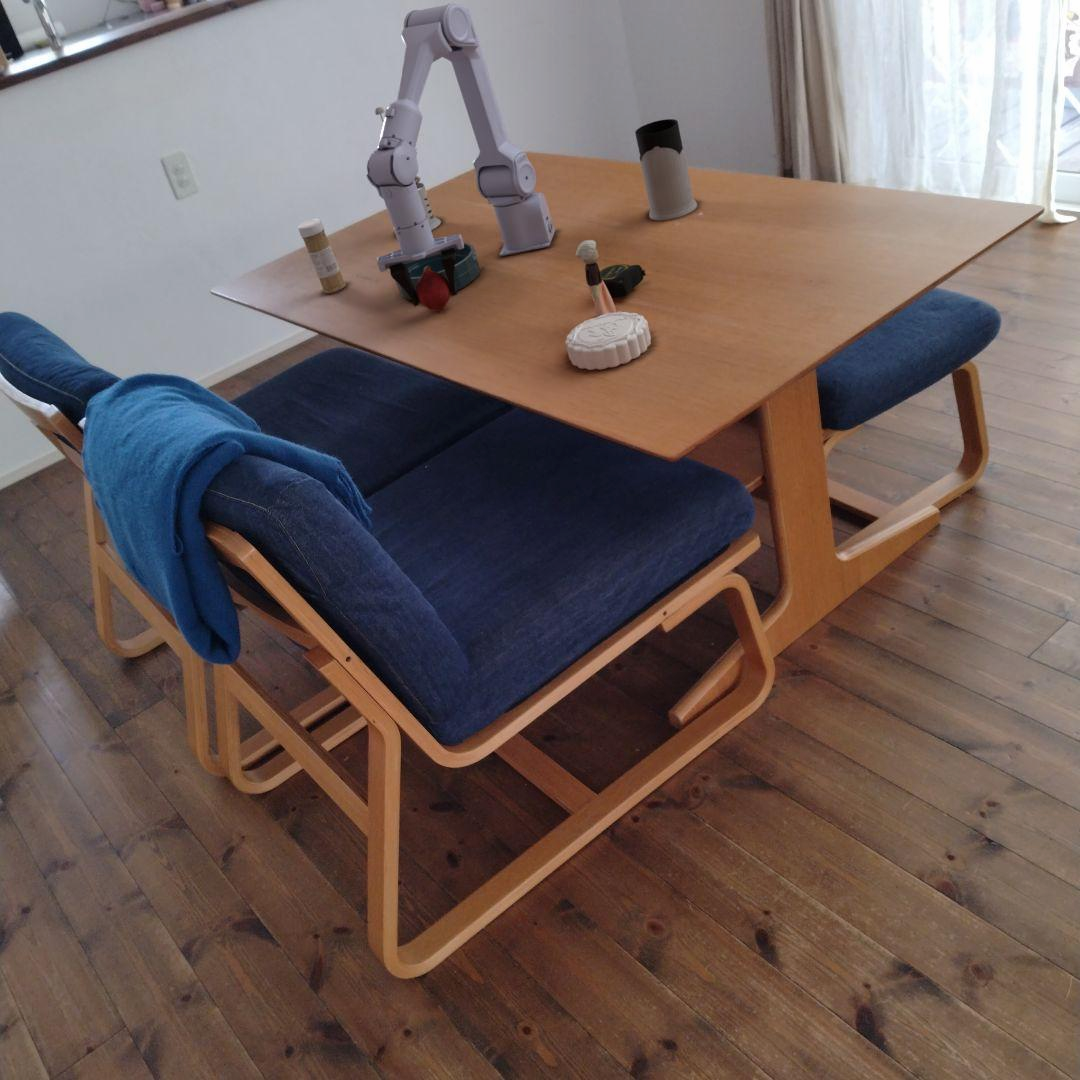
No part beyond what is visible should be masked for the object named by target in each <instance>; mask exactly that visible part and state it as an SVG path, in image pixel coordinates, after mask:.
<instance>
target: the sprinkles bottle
mask: <svg viewBox="0 0 1080 1080" xmlns="http://www.w3.org/2000/svg"><path fill="white" fill-rule="evenodd" d="M297 230H298V233H299V235H300V237H301V238H302V240H303V242H304V245H305V247H306V249H307V253H308V255H309V258H310V260H311V263H312V265H313V269H314V271H315V273H316V276H317V277H318V279H319V282H320V284H321V287H322V291H323V293H325V294H333V293H337V292H339V291H341V290H343V289H344V288H345V287H346V282H345V280H344V278H343V276H342V273H341V271H340V268H339V265H338V262H337V259H336V256H335V254H334V252H333V249H332V247H331V244H330V242H329V239H328V237H327V235H326V232H325V227H324V223H323V222H322V220H321V219H320V218H313V219H309V220H306V221H304V222H302V223H301V224H299V225H298V227H297Z"/></svg>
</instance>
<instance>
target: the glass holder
mask: <svg viewBox="0 0 1080 1080" xmlns="http://www.w3.org/2000/svg"><path fill="white" fill-rule="evenodd" d="M634 133H635V138H636V144H637V148H638V153H639V163H640V167H641V173H642V176H643V181H644V186H645V191H646V195H647V200H648V205H649V215H648V217H649V218H650V219H651V220H654V221H668V220H669V221H670V220H673V219H674V220H675V219H678V218H681V217H684V216H686V215H688V214H690V213H692V212H693V211H694V210H696V208H697V207H698V203H697V201H696V200H695V197H694V194H693V190H692V184H691V178H690V173H689V167H688V163H687V157H686V153H685V152H686V151H685V147H683V143H682V142H683V141H682V137H681V132H680V125H679V122H678V120H677V119H674V118H665V119H660V120H656V121H651V122H650V123H647V124H644V125H642V126H640V127H638V128H637V129H636V130H635V132H634Z"/></svg>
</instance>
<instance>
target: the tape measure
mask: <svg viewBox="0 0 1080 1080" xmlns="http://www.w3.org/2000/svg"><path fill="white" fill-rule="evenodd" d="M600 273H601V277H602V280H603V282H604V284H605V285H606V287H607V289H608V291H609V294H610V296H611V298H612V300H613V299H619V298H624V297H627V296H629V294H631V292H632V291H633V290H634V289H635V288H636V287H637V286H638V285H639V284H641V282H643V280H644V277H646V270H645V269H643V268H642V266H641V265H640V264H632V265H629V264H626V263H625V264H624V263H620V264H619V263H618V264H613V265H609V266H606V267H604V268H602V269H601V270H600Z"/></svg>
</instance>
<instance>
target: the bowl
mask: <svg viewBox="0 0 1080 1080" xmlns="http://www.w3.org/2000/svg"><path fill="white" fill-rule="evenodd" d="M463 243H464V248H463V249H460V250H458V249H456V258H455V267H454V278H455V286H456V290H457V291H459V290H461V289H463V288H465V287H466V286H468V285H469V284H470V283H472V282H473V281H474V280H476V278H477V277H479V275H480V272H481V270H482V269H481V265H480V263H479V259H478V257H477V253H476V251H475V250H476V249H475V247H474V245H473V244H471V243H469V242H465V241H463ZM406 264H407V267H408V271H409V274H410V277H411V281H412V283H413V286H414V288H415V290H416V286H417V282H418V280H419V278H420V277H421V275H422V274H423V271H424V268H425V267H426V266H429V267H431V271H434V272H438V273H440V274H441V275H443V276H444V277H445V278H446V279H447V280H448V278H447V275H446V272H445V270H444V267H443V265H442V262H441V254H438V255H434V256H431V257H427V258H424V259H420V260H417V261H413V262H410V263H406ZM394 281H395V280H394ZM448 282H449V281H448ZM395 284H396V287H397V290H398V292H399V295H400V296H401V297H402V298H403V299H407V300H411V298H410V297H409V295H408V294H407V292H406V291H405V290H404V289H403V288H402V286H401V285H400V284H399V283H398V282H397V281H395Z"/></svg>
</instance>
